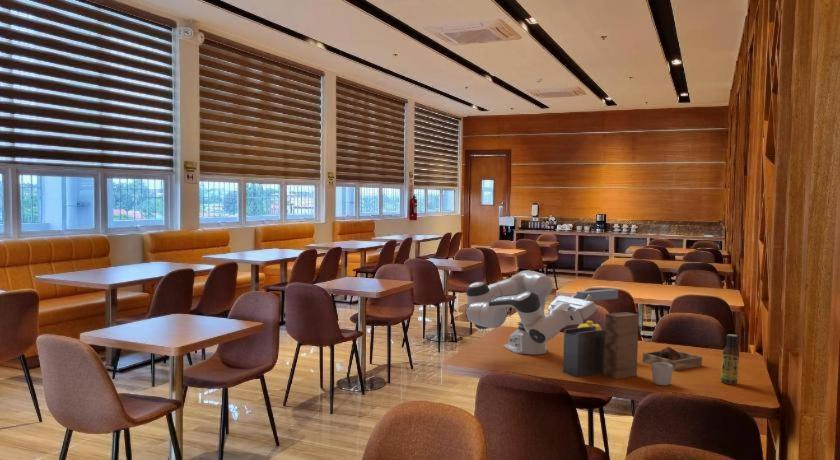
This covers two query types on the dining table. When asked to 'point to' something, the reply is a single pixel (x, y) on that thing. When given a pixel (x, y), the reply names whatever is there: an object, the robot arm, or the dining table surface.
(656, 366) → the cup
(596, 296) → the rail
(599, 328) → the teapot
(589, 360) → the dark gray box
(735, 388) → the dining table surface
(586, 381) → the dining table surface
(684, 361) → the caddy
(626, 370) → the post
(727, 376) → the sauce bottle
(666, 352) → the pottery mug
